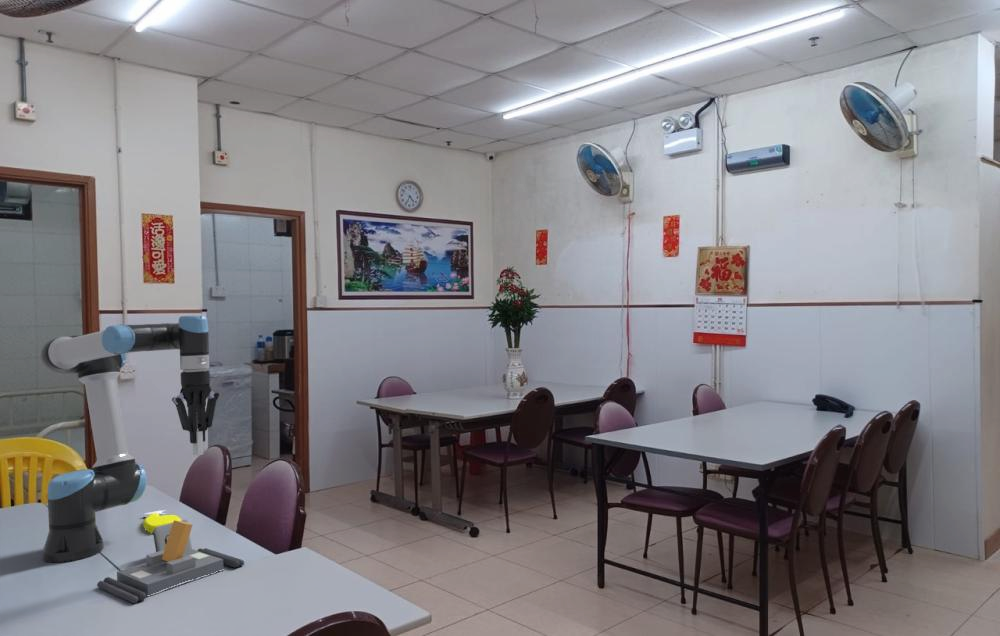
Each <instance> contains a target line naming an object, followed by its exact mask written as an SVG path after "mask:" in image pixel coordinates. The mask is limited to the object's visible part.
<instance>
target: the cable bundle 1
mask: <svg viewBox="0 0 1000 636" xmlns="http://www.w3.org/2000/svg"><path fill="white" fill-rule="evenodd" d="M96 587H98V588H99V589H101V590H103V591H106V592H108V593H111V594H113V595H114V596H117V597H119V598H120V599H121V598H122V599H123V600H125V601H127V602H130V603H132V604H136V603H138V601H140V602H142V600H143V601H144V599H145V600H146V598H147V596H146V593H144V592H142V591H140V590H137V589H135V588H133V587H131V586H128V585H126V584H124V583H121V582H119V581H117V579H114V578H112V577H109V576H107V577H105V578H104V579H103V580H99V581H97V584H96Z"/></svg>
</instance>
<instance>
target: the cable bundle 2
mask: <svg viewBox="0 0 1000 636" xmlns="http://www.w3.org/2000/svg"><path fill="white" fill-rule="evenodd" d="M196 551H199V552H202V553H205V554H208V555H211V556H214V557H218V558H221V559H223V566H224V565H225V566H228V567H230V568H233V567H234V569H237V568H238V567H242V565H243V566H244V565H245V561H244V560H243V559H241V558H237V557H234V556H233V555H228V554H226V553H222V552H218V551H217V550H216V551H215V550H212V549H210V548H206V547H205V548H198V549H196ZM236 567H237V568H236Z"/></svg>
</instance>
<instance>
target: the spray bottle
mask: <svg viewBox="0 0 1000 636" xmlns="http://www.w3.org/2000/svg"><path fill="white" fill-rule="evenodd" d="M164 511H166V513H162V512H164ZM159 514H167V510H166V509H164V510H161V509H160V510H155V511H151V512H150V511H149V512H145V513H142V516H143V515H148V517H146V518H144V520H143V523H142V525H143V528H144V530H145V529H146V530H147V531H146V530H145V531H146V532H147V533H149V532H150V533H149V534H151V533H153V531H154V529H155V527H158V526H162V525H166V524H170V523H173V522H174V520H175V521H181V520H182V518H181V517H179V516H178V515H176V514H167V515H159Z"/></svg>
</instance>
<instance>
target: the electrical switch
mask: <svg viewBox="0 0 1000 636" xmlns="http://www.w3.org/2000/svg"><path fill="white" fill-rule="evenodd" d="M181 522H185V523H188V520H187V519H181ZM188 524H189V523H188ZM172 525H173V523H170V524H166V525H162V526H158V527H155V529H154V531H153V534H152V536H153V542H154V546H155V552H158V551H162V550H165V547H166V543H167V540H168V537H169V534H170V531H171V528H172ZM189 549H193V546H192V541H191V535H189V538H188V541H187V544H186V547H185V551H186V550H189Z"/></svg>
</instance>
